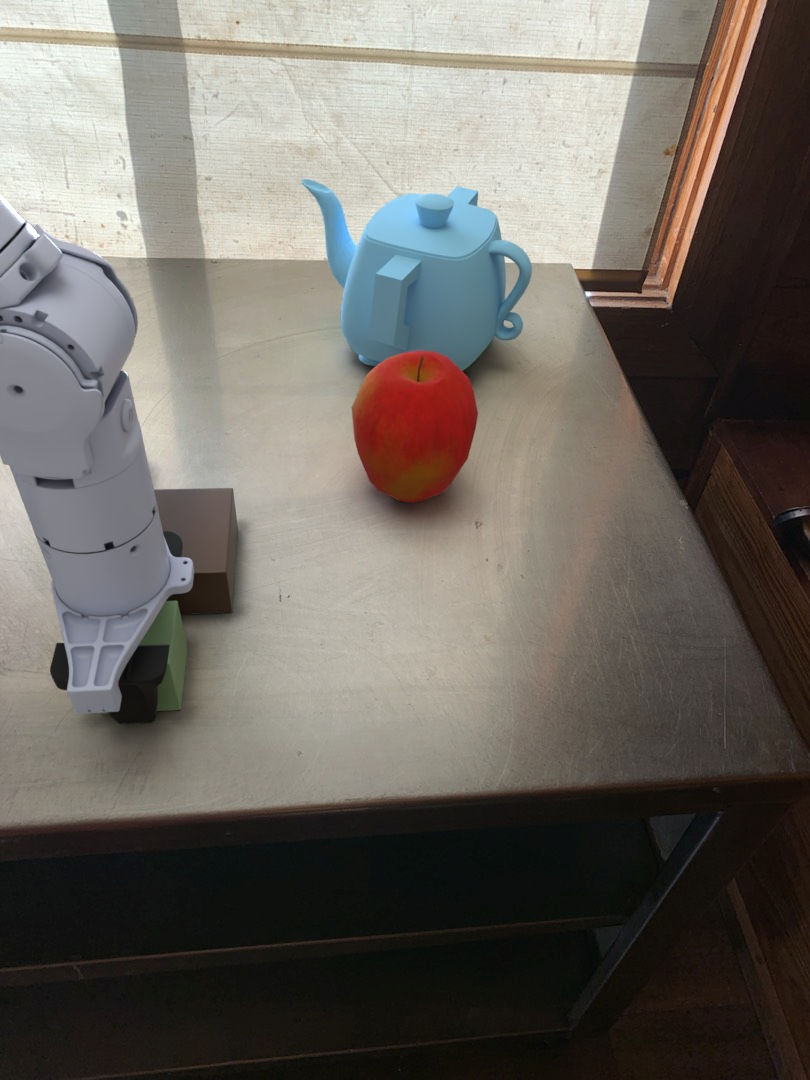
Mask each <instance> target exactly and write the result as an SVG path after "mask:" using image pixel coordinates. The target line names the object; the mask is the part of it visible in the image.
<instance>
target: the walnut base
mask: <svg viewBox="0 0 810 1080" xmlns="http://www.w3.org/2000/svg"><path fill="white" fill-rule="evenodd" d="M154 493H155V497H156V502H157V507H158V511H159V516H160V521H161V526H162V530H163V531H172V532H175V533H177V534H178V535H179V536H180V537H181V539H182V544H183V548H182V555H181V557H185V558H190V559H191V560H192V562H193V566H194V578H193V586H192V588H191V590H190V591H188V592H187V593H182V594H173V595H171V596H170V597H169V601H177V602H178V606H179V610H180V615H181V616H182V615H204V614H206V615H207V614H209V615H210V614H231V613H233V609H234V595H235V594H234V593H235V581H236V580H235V578H236V565H237V562H236V561H237V548H238V535H239V533H238V531H239V530H238V529H239V526H238V519H237V510H236V502H235V501H236V500H235V493H234V488H233V487H200V488H199V487H198V488H196V487H195V488H154Z"/></svg>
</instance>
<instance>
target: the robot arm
mask: <svg viewBox="0 0 810 1080" xmlns="http://www.w3.org/2000/svg"><path fill="white" fill-rule="evenodd" d="M138 320H139V319H138V312H137V307H136V305H135V302H134V299H133V297H132V295H131V293H130V292H129V290H128V288H127V286H126V285H125V284H124V282H123V281H122V279H120V278H119V276H118V275H117V273H116V271H115V268H114V267H113V265H112V264H111V263H110V262H109V261H108V260H107V259H105V258H103V256H101V255H99V254H97V253H95V252H94V251H92V250H91V249H88V248H86V247H84V246H81V245H78V244H76V243H73V242H70V241H64V240H62V239H58V238H56V237H54V236H52V235H51V234H50V233H48V232H47V231H46V230H45V229H44V228H43V227H42V226H41V225H40V224H39V223H37V224H35V225H33V224H32V223H31V222H30V221H29V220H27V219H25V218H24V217H22V215H21V214H20V213H19V212H18V211H17V210H16V209H15V208H14V207H13V206H12V205H11V204H10V203H9V202H8V201H7V199H5V198H4V196H2V194H0V459H1V462H2V464H3V465H5V466H6V465H7V466H9V469H10V471H11V474H12V477H13V479H14V482H15V485H16V487H17V490H18V493H19V495H20V498H21V501H22V504H23V506H24V509H25V511H26V514H27V516H28V517H27V518H28V519H29V522H30V524H31V527H32V529H33V534H34V535H35V539H36V541H37V544H38V546H39V548H40V552H41V554H42V557H43V560H44V562H45V565H46V568H47V570H48V573H49V576H50V578H51V583H50V585H51V593H52V597H53V602H54V607H55V610H56V614H57V619H58V623H59V627H60V628H59V629H60V632H61V636H62V640H63V642H56V644H55V647H54V651H53V655H52V659H51V663H50V668H49V672H50V676H51V678H52V680H53V683H54V684H55V686H56V688H57V689H59V690H62V691H66V693H67V696H68V697H69V700H70V703H71V705H72V707H73V710H74V712H75V714H76V715H77V714H78V715H81V714H82V715H83V714H100V713H105V712H108V713H109V714H108V715H110V716H111V718H113V720H114V721H116V722H117V723H118V724H119V725H131V724H152V723H154V722H155V720H156V716H157V711H156V710H157V702H158V693H157V687H158V685H159V684H161V683H162V681H163V678H164V675H165V672H166V668H167V662H168V654H169V647H170V644H162V645H139V644H140V642H141V640H142V639H143V637H144V636H145V634H146V632H147V631H148V629H149V628H150V626H151V624H152V623H153V621H154V620H155V618H156V616H157V615H158V613H159V612H160V610H161V608H162V607H163V605H164V604H165V602H166V601H169V597H170V596H171V595H173V594H182V593H187V592H188V591H190V590H191V588H192V586H193V578H194V566H193V562H192V560H191V559H190V558H185V557H181V555H182V548H183V544H182V539H181V537H180V536H179V535H178V534H177V533H175V532H172V531H163V530H162V526H161V521H160V516H159V511H158V507H157V502H156V497H155V493H154V489H155V488H154V484H153V479H152V475H151V470H150V465H149V462H148V461H149V460H148V456H147V452H146V446H145V442H144V436H143V432H142V427H141V424H140V421H139V418H138V417H139V416H138V413H137V408H136V404H135V399H134V395H133V389H132V384H131V381H130V376H129V373H127V372H126V371H125V370H123V367H124V366H125V364H126V362H127V360H128V358H129V356H130V354H131V352H132V349H133V348H134V344H135V339H136V337H137V332H138V326H139V321H138ZM138 645H139V646H138Z"/></svg>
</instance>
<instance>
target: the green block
mask: <svg viewBox="0 0 810 1080" xmlns="http://www.w3.org/2000/svg"><path fill="white" fill-rule="evenodd" d="M162 644H170V647H169V654H168V662H167V668H166V672H165V675H164V678H163V681H162V683H161V684H159V685H158V687H157V693H158V702H157V710H156V712H164V711H165V712H166V711H180V710H182V703H183V695H184V694H183V693H184V685H185V684H184V683H185V675H186V667H187V657H188V649H189V648H188V643H187V638H186V633H185V629H184V625H183V619H182V615H180V610H179V606H178V602H177V601H166V602H165V604H164V605H163V607H162V608H161V610H160V612H159V613H158V615H157V616H156V618H155V620H154V621H153V623H152V624H151V626H150V628H149V629H148V631H147V632H146V634H145V636H144V637H143V639H142V640H141V642H140V644H139V645H162ZM139 645H138V646H139ZM99 714H100V715H110V714H109V713H108V712H105V713H99Z"/></svg>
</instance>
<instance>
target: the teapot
mask: <svg viewBox="0 0 810 1080" xmlns="http://www.w3.org/2000/svg"><path fill="white" fill-rule="evenodd" d="M300 182H301V184H302V185H303V187H304V188H305V189H307V190H308V192H309V193H310V194H311V195H312V197H314V199H315V201H316V202H317V204H318V206H319V208H320V211H321V216H322V220H323V226H324V237H325V238H324V239H325V240H324V241H325V252H326V253H325V254H326V259H327V264H328V267H329V269H330V271H331V274H332V276H333V277H334V279H335V280H336V281H337V283H338V284H339V285H340V286H341V287H342V288H343V294H342V300H341V308H340V327H341V332H342V334H343V336H344V338H345V340H346V342H347V344H348V345H349V347H350V349H351V350H352V351H353V352H354V353H355V354H357V355H358V360H359V361H360V362H361V363H362V364H364V365H367V366H370V367H371V366H372V367H376V366H377V365H378V364H379V363H381V362H383V361H384V360H386V359H388V358H389V357H392V356H395V355H398V354H401V353H405V352H412V351H434V352H437V353H439V354H442V355H444V356H446V357H448V358H449V359H450V360H451V361H452V362H453V363H454V364H455V365H456V366H457V367H458V368H459V369H460V370H461V371H462V372H464V371H465V370H466V369H467V368H469V367H470V366H471V365H472V364H473V363H474V362H475V361H476V360H477V359H478V358H479V357H480V356H481V355H482V354H483V352H484V351H485V350H486V349H487V348H488V346H489V345H490V343H491V342H492V341H493V339H494V338H496V339H497V340H500V341H513V340H516V339H517V338H518V337H519V336H520V335H521V334H522V331H523V328H524V321H523V318H522V316H521V315H520V314H518V313H517V312H513V311H512V310H513V309H514V308H515V306H516V305H517V303H518V302H519V301H520V299H521V298H522V297H523V295H524V293H525V292H526V290H527V289H528V286H529V285H530V282H531V278H532V273H533V267H532V262H531V259H530V257H529V256H528V254H527V253H526V252H525V250H524V249H523V248H522V247H521V246H520V245H518V244H516V243H514V242H512V241H509V240H505V239H502V233H501V227H500V224H499V220H498V216H497V214H496V213H494V212H493V211H492V210H491V209H488V208H485V207H482V206H481V207H480V206H478V202H479V190H475V189H471V188H467V187H462V186H458V185H456V186H455V187H454V188H453V189H452V190H451V192H450V193H449V194H448V195H444V194H441V193H424V194H421V193H405V194H403V195H399V196H397V197H395V198H393V199H391V200H390V201H388V202H387V203H385V204H384V205H382V207H380V208H379V209H378V210H377V211H376V212H375V213H374V214H373V215H372V216H371V217H370V219H369V220H368V221H367V223H366V225H365V227H364V229H363V231H362V233H361V236H360V238H359V239H358V243H357V244H356V242H355V241H354V240H353V238H352V235H351V233H350V231H349V229H348V225H347V220H346V217H345V213H344V210H343V205H342V204H341V201H340V199H339V198H338V197H337V195H336V194H335V192H334V191H332V189H330V188H329V187H328V186H327V185H325V184H323V183H320V182H318V181H316V180H312V179H309V178H302V179H301V181H300ZM505 258H508V259H509V260H511V261H512V262H514V264H515V265H516V266H517V268H518V270H519V271H518V272H519V274H518V277H517V280H516V283H515V285H514V286H513V287H512V290H511V291H510V292H509V294H508V295H507V297H506V291H507V288H506V287H507V280H506V279H507V274H506V273H507V272H506V259H505ZM511 311H512V312H511ZM505 321H506V322H510V323H511V324H512V326H511V327H507V326H505V324H504V323H505Z"/></svg>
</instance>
